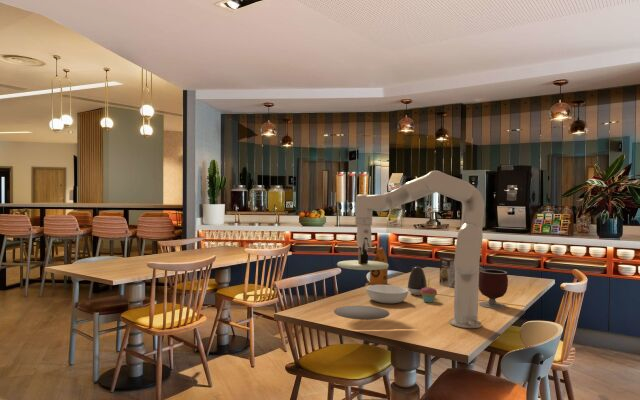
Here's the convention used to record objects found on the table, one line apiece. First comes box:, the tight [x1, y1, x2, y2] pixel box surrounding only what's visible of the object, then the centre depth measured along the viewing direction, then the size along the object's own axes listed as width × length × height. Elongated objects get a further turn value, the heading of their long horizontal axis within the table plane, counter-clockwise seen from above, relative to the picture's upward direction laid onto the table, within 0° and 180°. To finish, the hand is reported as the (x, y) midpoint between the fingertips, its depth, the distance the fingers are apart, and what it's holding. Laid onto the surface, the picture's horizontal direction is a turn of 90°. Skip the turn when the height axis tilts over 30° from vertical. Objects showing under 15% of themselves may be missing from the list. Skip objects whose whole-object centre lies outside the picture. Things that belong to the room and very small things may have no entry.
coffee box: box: [438, 257, 455, 288], centre depth 280 cm, size 9×6×16 cm
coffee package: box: [369, 247, 389, 286], centre depth 278 cm, size 10×12×22 cm
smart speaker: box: [407, 266, 428, 296], centre depth 253 cm, size 10×10×15 cm
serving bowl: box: [366, 284, 409, 304], centre depth 232 cm, size 21×21×7 cm
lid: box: [336, 249, 390, 271], centre depth 208 cm, size 23×23×7 cm
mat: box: [333, 305, 390, 321], centre depth 208 cm, size 25×25×1 cm
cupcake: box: [420, 279, 438, 303], centre depth 236 cm, size 9×8×12 cm
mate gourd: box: [478, 265, 509, 310], centre depth 229 cm, size 16×14×20 cm
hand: (362, 262), depth 208 cm, fingers closed on lid, 4 cm apart
